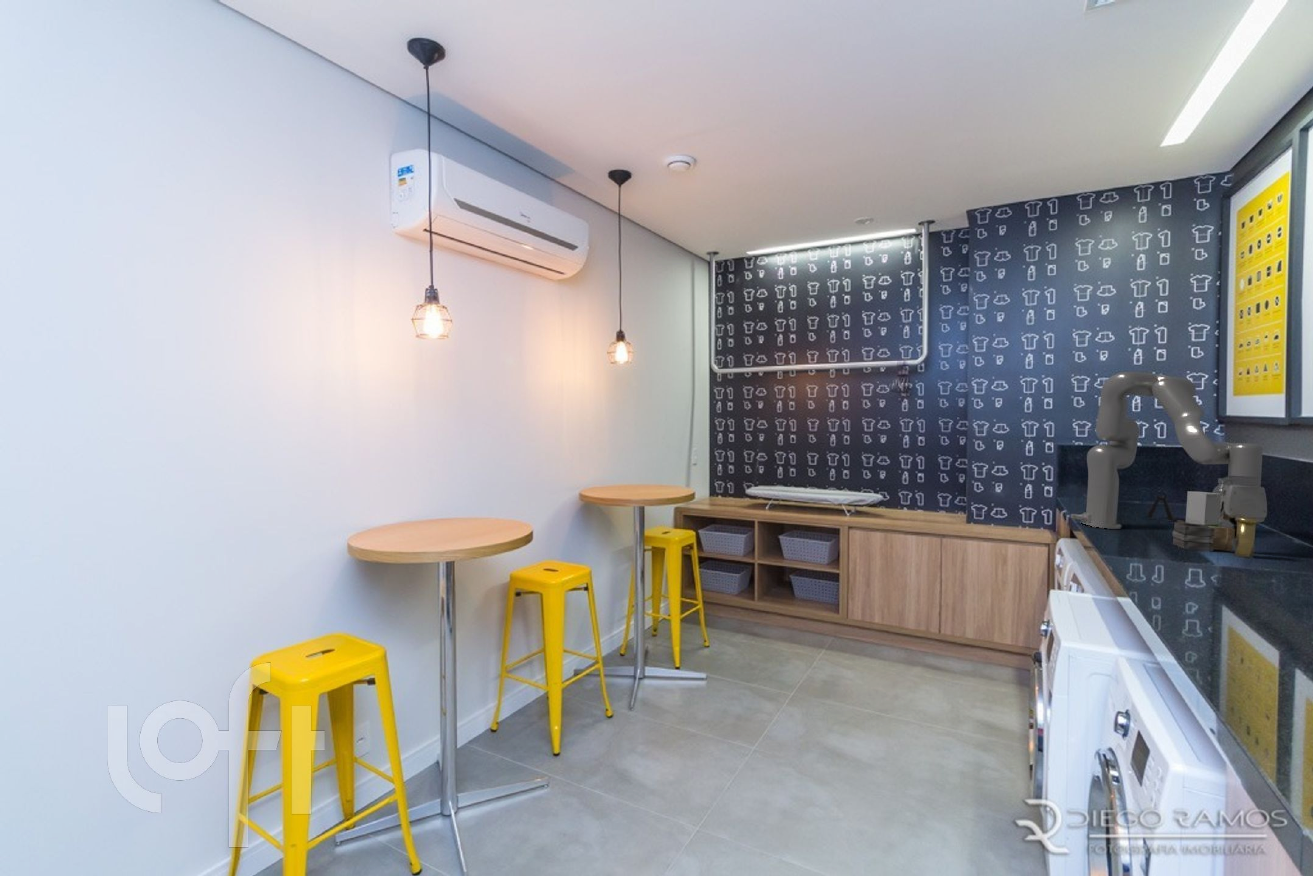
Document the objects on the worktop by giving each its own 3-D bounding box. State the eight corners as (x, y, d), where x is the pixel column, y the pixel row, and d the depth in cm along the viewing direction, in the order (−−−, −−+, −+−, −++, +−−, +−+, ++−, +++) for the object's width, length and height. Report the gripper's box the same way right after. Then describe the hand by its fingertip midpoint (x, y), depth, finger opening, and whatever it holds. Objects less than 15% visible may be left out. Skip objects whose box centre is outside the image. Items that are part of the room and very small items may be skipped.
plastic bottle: (1208, 528, 231) (1212, 477, 230) (1232, 531, 226) (1236, 478, 225) (1209, 530, 226) (1213, 478, 225) (1234, 533, 221) (1238, 480, 220)
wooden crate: (1182, 548, 192) (1184, 526, 192) (1172, 543, 200) (1173, 522, 199) (1237, 553, 188) (1238, 530, 187) (1224, 547, 195) (1225, 526, 194)
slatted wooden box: (1183, 549, 192) (1185, 526, 192) (1164, 540, 205) (1165, 519, 205) (1212, 551, 190) (1214, 528, 189) (1191, 542, 203) (1193, 521, 202)
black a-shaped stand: (1174, 520, 247) (1176, 491, 246) (1173, 522, 243) (1176, 493, 242) (1146, 517, 253) (1148, 489, 253) (1145, 518, 249) (1147, 490, 248)
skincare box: (1203, 536, 214) (1206, 493, 213) (1182, 532, 221) (1185, 491, 220) (1219, 535, 216) (1223, 493, 216) (1198, 532, 223) (1202, 490, 222)
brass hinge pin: (1238, 557, 183) (1241, 518, 182) (1229, 553, 188) (1232, 516, 187) (1259, 559, 181) (1262, 520, 181) (1249, 555, 186) (1252, 517, 185)
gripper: (1221, 481, 188) (1218, 539, 189) (1282, 484, 183) (1278, 543, 184) (1208, 479, 195) (1205, 534, 196) (1266, 482, 191) (1263, 538, 191)
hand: (1240, 538), depth 190 cm, fingers closed
